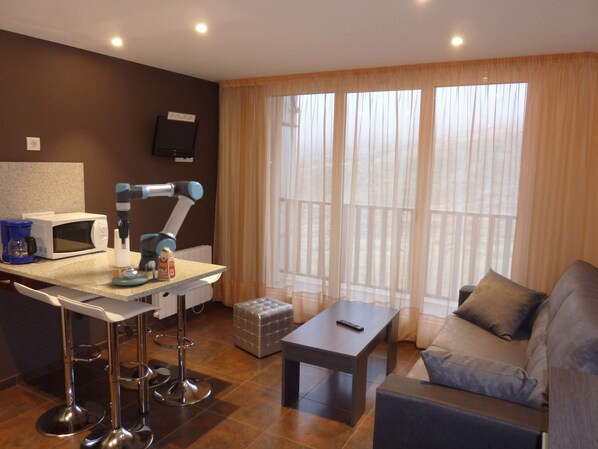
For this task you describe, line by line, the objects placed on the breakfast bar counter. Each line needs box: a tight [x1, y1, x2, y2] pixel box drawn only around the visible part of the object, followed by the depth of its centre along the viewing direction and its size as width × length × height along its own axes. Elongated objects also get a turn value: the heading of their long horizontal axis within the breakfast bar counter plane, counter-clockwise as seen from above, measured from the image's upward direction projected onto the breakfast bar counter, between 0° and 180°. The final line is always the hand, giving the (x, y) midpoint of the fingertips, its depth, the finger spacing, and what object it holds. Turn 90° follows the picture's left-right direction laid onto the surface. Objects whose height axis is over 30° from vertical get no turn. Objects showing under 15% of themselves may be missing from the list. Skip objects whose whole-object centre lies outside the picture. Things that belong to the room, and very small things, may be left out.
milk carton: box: [156, 247, 177, 282], centre depth 278 cm, size 9×9×20 cm
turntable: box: [111, 268, 149, 286], centre depth 265 cm, size 20×20×6 cm
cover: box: [122, 267, 139, 280], centre depth 265 cm, size 8×8×6 cm
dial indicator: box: [145, 261, 160, 283], centre depth 271 cm, size 5×6×12 cm
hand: (124, 249), depth 273 cm, fingers closed
